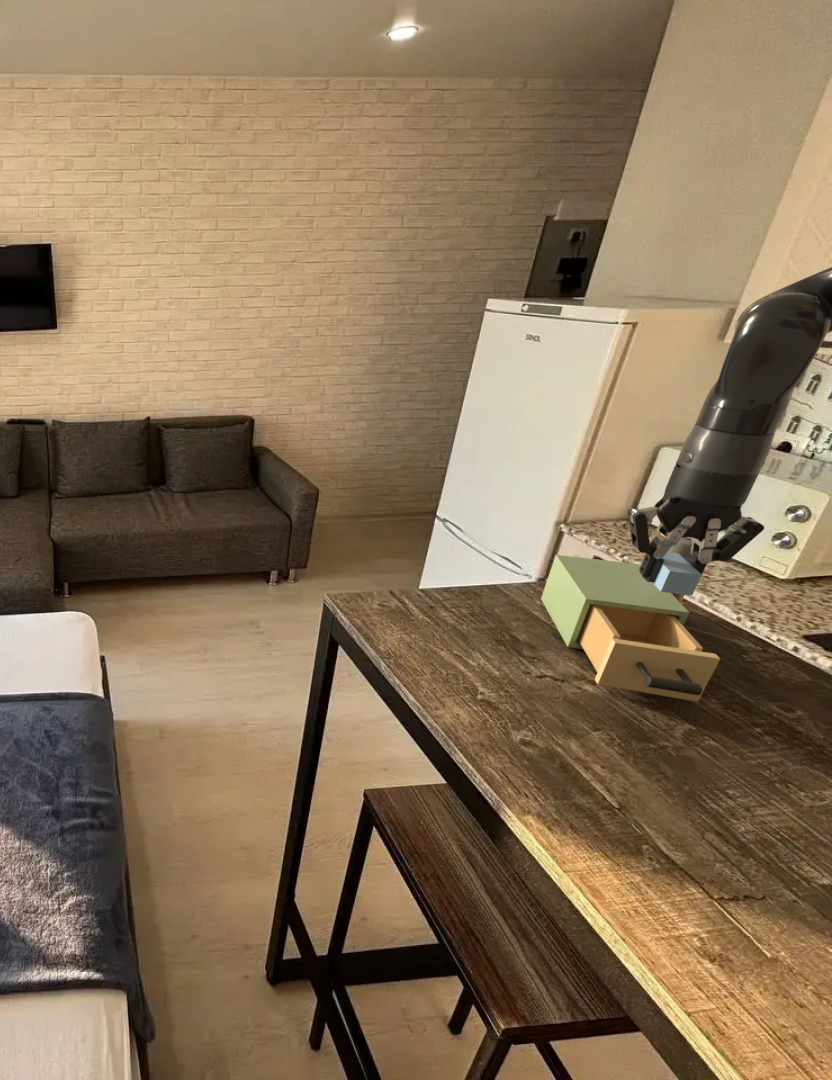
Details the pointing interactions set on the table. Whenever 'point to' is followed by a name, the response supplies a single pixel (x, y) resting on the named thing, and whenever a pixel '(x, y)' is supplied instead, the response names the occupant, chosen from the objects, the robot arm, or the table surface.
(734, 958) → the table surface
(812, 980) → the table surface
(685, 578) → the light blue rectangular block
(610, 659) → the drawer
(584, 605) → the cabinet
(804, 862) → the table surface
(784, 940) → the table surface
